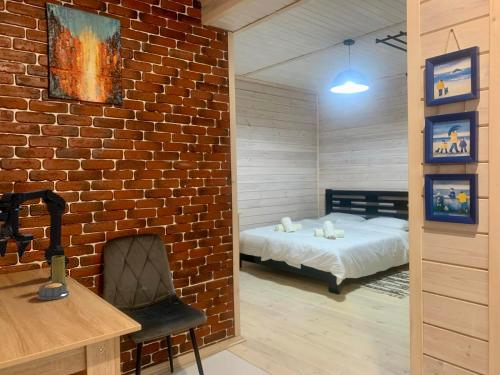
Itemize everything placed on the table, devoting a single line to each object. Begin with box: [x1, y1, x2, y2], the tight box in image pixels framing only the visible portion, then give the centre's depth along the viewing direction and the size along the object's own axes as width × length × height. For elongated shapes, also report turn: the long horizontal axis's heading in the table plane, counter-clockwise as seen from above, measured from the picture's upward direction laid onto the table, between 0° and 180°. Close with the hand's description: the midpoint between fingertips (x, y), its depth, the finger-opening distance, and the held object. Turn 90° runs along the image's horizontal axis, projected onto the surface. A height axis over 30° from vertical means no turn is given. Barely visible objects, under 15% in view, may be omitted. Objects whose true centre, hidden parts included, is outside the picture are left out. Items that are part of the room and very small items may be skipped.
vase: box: [50, 255, 67, 284], centre depth 172 cm, size 6×6×14 cm
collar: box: [36, 282, 70, 302], centre depth 160 cm, size 12×12×4 cm
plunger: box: [44, 283, 62, 288], centre depth 160 cm, size 7×7×1 cm
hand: (11, 257), depth 165 cm, fingers open, 9 cm apart
